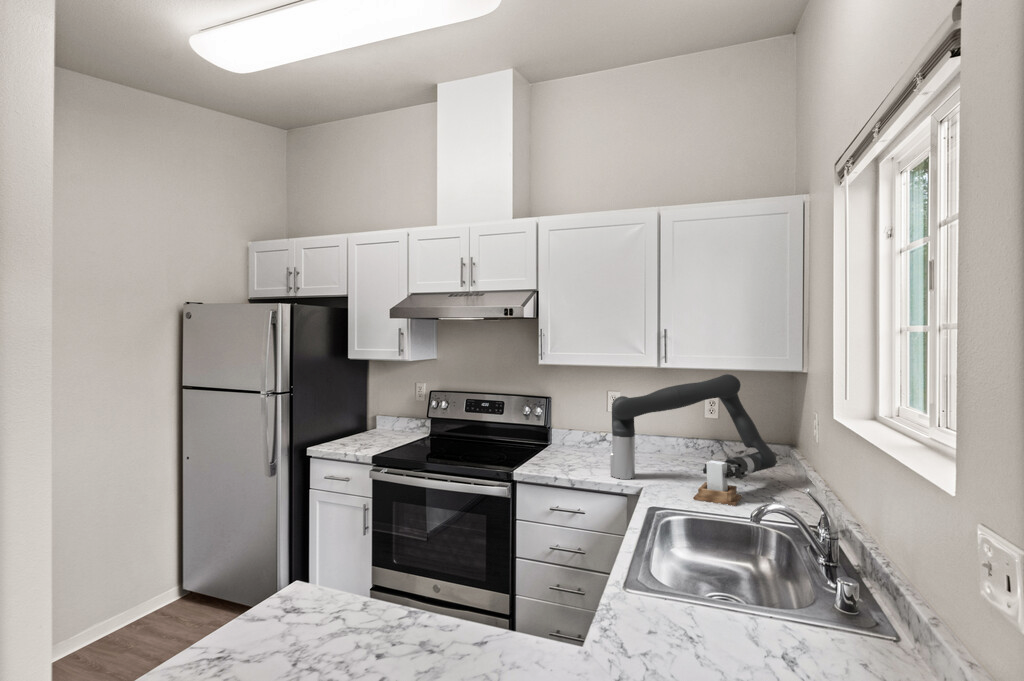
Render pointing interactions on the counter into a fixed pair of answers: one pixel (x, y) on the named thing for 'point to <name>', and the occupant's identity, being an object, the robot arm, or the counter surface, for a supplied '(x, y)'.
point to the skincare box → (717, 476)
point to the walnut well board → (718, 495)
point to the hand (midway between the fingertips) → (714, 473)
